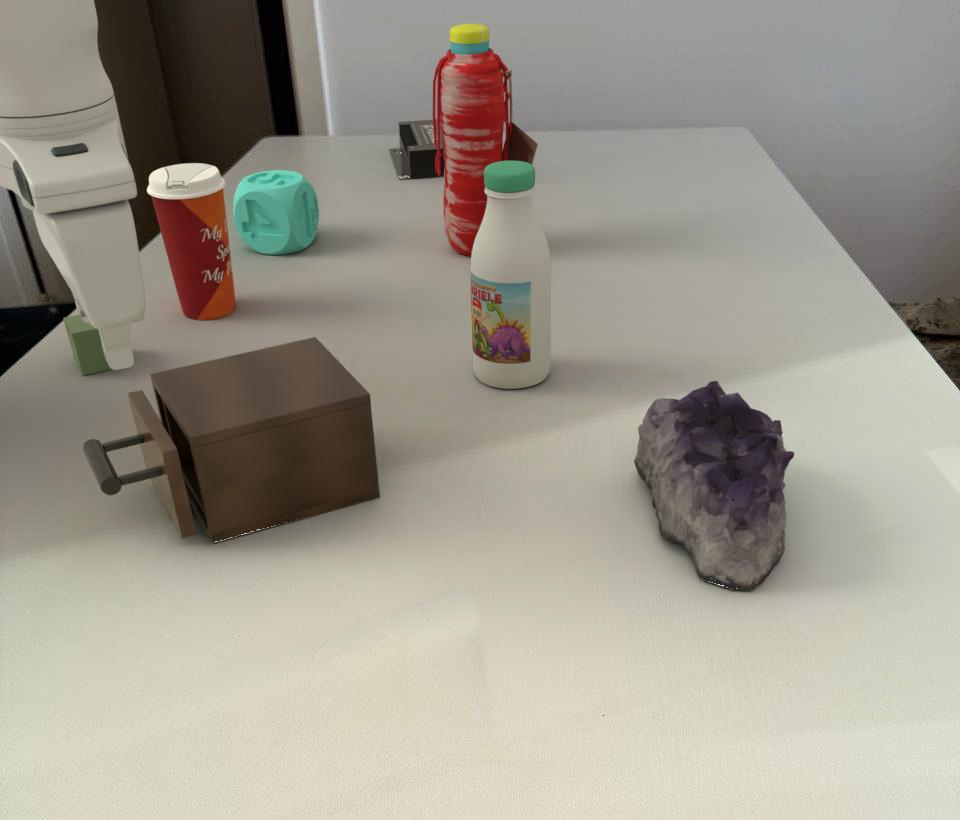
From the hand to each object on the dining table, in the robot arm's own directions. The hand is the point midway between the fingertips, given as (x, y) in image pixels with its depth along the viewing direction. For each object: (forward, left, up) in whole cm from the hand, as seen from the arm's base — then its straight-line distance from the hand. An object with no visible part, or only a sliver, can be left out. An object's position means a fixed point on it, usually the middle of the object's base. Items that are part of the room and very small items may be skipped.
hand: (106, 341), depth 85 cm
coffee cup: (+17, +41, -16) cm, 47 cm away
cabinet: (+11, 0, -16) cm, 19 cm away
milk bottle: (+39, +9, -16) cm, 43 cm away
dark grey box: (+63, +77, -16) cm, 100 cm away
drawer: (+6, 0, -15) cm, 16 cm away
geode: (+41, -23, -16) cm, 49 cm away
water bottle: (+53, +42, -16) cm, 69 cm away
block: (+3, +33, -16) cm, 36 cm away
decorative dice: (+31, +57, -16) cm, 67 cm away
